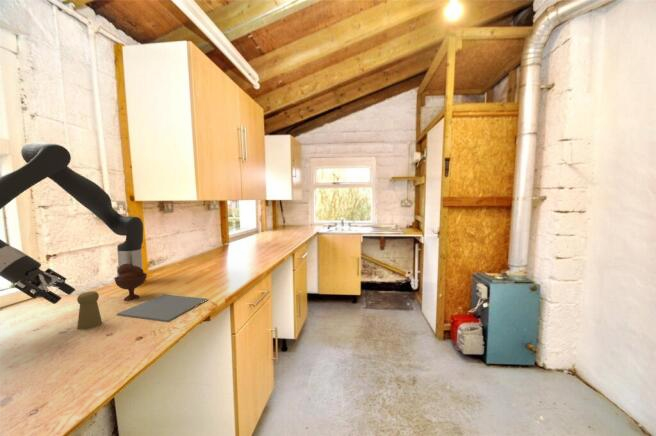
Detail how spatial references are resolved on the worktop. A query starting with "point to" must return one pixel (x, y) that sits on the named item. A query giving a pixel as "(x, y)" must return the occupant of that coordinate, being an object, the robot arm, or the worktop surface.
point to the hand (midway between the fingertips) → (65, 296)
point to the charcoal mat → (162, 307)
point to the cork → (88, 311)
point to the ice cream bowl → (130, 279)
